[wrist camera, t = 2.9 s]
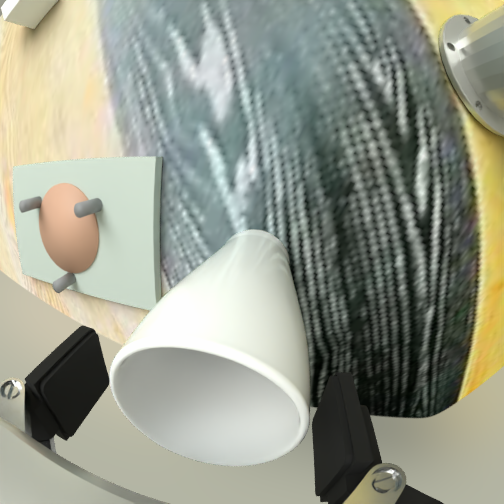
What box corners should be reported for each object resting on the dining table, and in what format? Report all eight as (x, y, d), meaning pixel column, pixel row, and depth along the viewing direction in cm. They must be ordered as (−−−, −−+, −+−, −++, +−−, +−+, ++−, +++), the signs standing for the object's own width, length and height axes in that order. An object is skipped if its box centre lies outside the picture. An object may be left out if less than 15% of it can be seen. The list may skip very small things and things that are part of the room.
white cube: (27, 15, 15) (0, 7, 9) (55, -16, 13) (29, -28, 7) (34, 29, 16) (4, 20, 10) (64, -6, 14) (35, -20, 8)
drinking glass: (218, 210, 20) (89, 305, 6) (307, 227, 20) (348, 366, 6) (208, 290, 23) (122, 437, 8) (288, 307, 22) (282, 478, 8)
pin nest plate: (162, 156, 20) (139, 156, 16) (161, 305, 24) (144, 326, 20) (20, 165, 21) (-3, 169, 18) (29, 270, 25) (9, 281, 22)
